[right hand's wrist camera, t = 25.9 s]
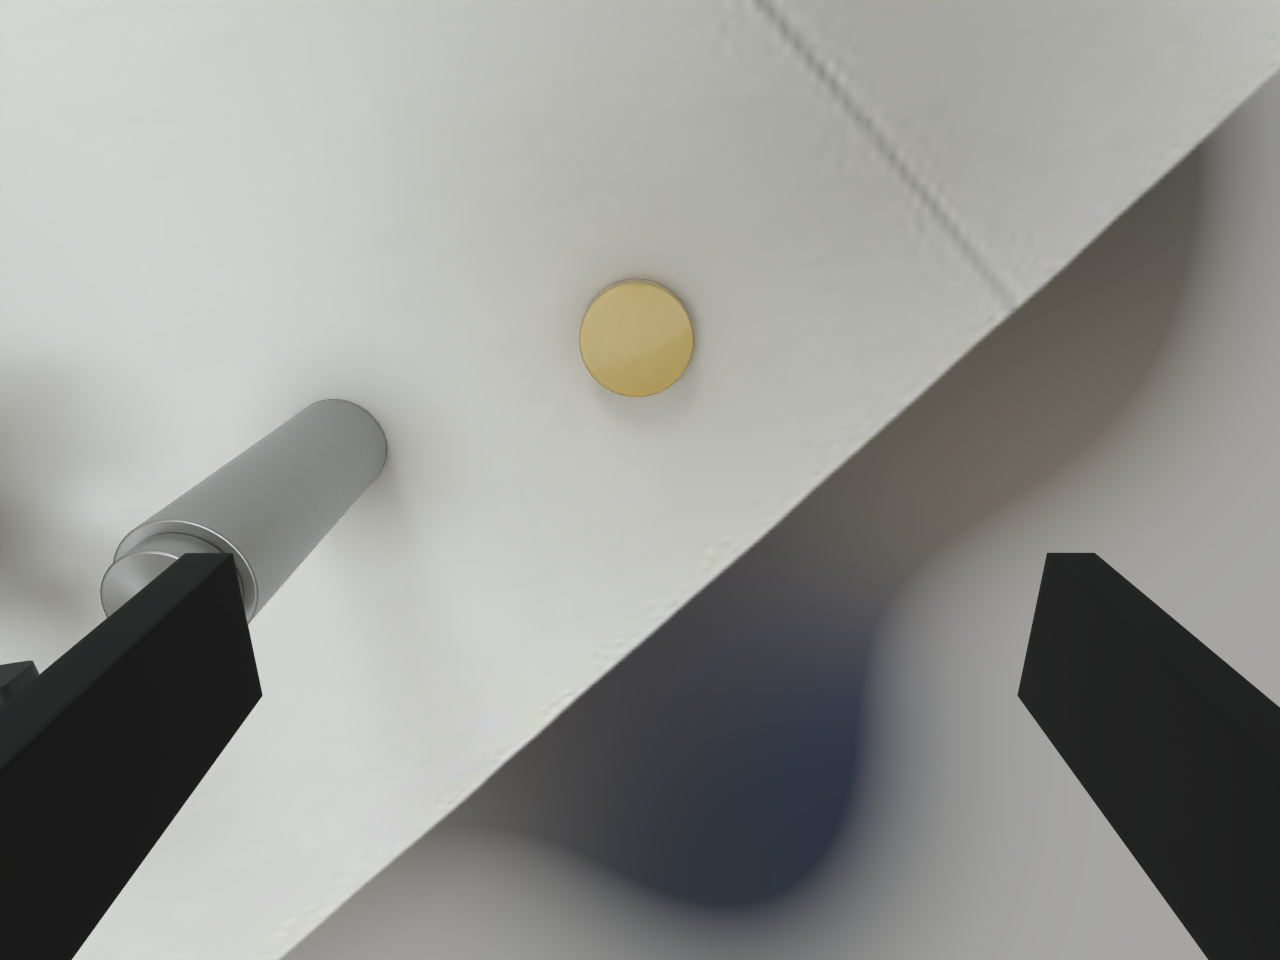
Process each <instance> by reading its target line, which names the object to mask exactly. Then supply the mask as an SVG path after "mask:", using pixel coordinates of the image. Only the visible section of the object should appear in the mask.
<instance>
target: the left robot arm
mask: <svg viewBox="0 0 1280 960" xmlns="http://www.w3.org/2000/svg"><path fill="white" fill-rule="evenodd" d="M39 675H40V674H39V672H38V670H37V668H36V666H35V664H34V662H33V661H24V662H17V663H11V664H4V665H0V707H2V706H3V705H4V704H5V703H6V702H8V701H9V700H10V699H11V698H12V697H14V696H15V695H16V694H17V693H18V692H20V691H21V690H22V689H23V688H24V687H26V686H27V685H28V684H29V683H30V682H31V681H33V680H34V679H35V678H36V677H37V676H39Z"/></svg>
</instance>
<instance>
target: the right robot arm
mask: <svg viewBox="0 0 1280 960" xmlns="http://www.w3.org/2000/svg"><path fill="white" fill-rule="evenodd" d="M261 697H262V691H261V686H260V681H259V677H258V672H257V667H256V662H255V657H254V652H253V648H252V643H251V638H250V633H249V628H248V624H247V619H246V614H245V609H244V604H243V600H242V595H241V590H240V585H239V580H238V575H237V571H236V566H235V561H234V556H233V553H185V554H183V555H182V556H181V557H180V558H179V559H177V560H176V561H175V562H174V563H173V564H172V565H170V566H169V567H168V568H167V569H166V570H164V571H163V572H162V573H161V574H160V575H158V576H157V577H156V578H155V579H154V580H152V581H151V582H150V583H149V584H148V585H146V586H145V587H144V588H143V589H142V590H140V591H139V592H138V593H137V594H136V595H134V596H133V597H132V598H131V599H130V600H128V601H127V602H126V603H125V604H124V605H122V606H121V607H120V608H119V609H118V610H116V611H115V612H114V613H113V614H112V615H110V616H109V617H108V618H107V619H106V620H104V621H103V622H102V623H101V624H100V625H99V626H97V627H96V628H95V629H94V630H93V631H91V632H90V633H89V634H88V635H87V636H85V637H84V638H83V639H82V640H81V641H79V642H78V643H77V644H76V645H75V646H73V647H72V648H71V649H70V650H69V651H67V652H66V653H65V654H64V655H63V656H61V657H60V658H59V659H58V660H57V661H55V662H54V663H53V664H52V665H51V666H49V667H48V668H47V669H46V670H45V671H43V672H42V673H41V674H40V675H39V676H37V677H36V678H35V679H34V680H33V681H31V682H30V683H29V684H28V685H27V686H26V687H24V688H23V689H22V690H21V691H20V692H18V693H17V694H16V695H15V696H14V697H12V698H11V699H10V700H9V701H8V702H6V703H5V704H4V705H3V706H2V707H0V960H72V958H73V957H74V956H75V954H76V953H77V951H78V950H79V949H80V947H81V946H82V945H83V943H84V942H85V940H86V939H87V938H88V936H89V935H90V933H91V932H92V931H93V929H94V928H95V927H96V925H97V924H98V922H99V921H100V920H101V918H102V917H103V915H104V914H105V913H106V911H107V910H108V909H109V907H110V906H111V904H112V903H113V902H114V900H115V899H116V897H117V896H118V895H119V893H120V892H121V891H122V889H123V888H124V886H125V885H126V884H127V882H128V881H129V879H130V878H131V877H132V875H133V874H134V873H135V871H136V870H137V868H138V867H139V866H140V864H141V863H142V861H143V860H144V859H145V857H146V856H147V855H148V853H149V852H150V850H151V849H152V848H153V846H154V845H155V843H156V842H157V841H158V839H159V838H160V837H161V835H162V834H163V832H164V831H165V830H166V828H167V827H168V826H169V824H170V823H171V821H172V820H173V819H174V817H175V816H176V814H177V813H178V812H179V810H180V809H181V808H182V806H183V805H184V803H185V802H186V801H187V799H188V798H189V796H190V795H191V794H192V792H193V791H194V790H195V788H196V787H197V785H198V784H199V783H200V781H201V780H202V778H203V777H204V776H205V774H206V773H207V772H208V770H209V769H210V767H211V766H212V765H213V763H214V762H215V760H216V759H217V758H218V756H219V755H220V754H221V752H222V751H223V749H224V748H225V747H226V745H227V744H228V742H229V741H230V740H231V738H232V737H233V736H234V734H235V733H236V731H237V730H238V729H239V727H240V726H241V724H242V723H243V722H244V720H245V719H246V718H247V716H248V715H249V713H250V712H251V711H252V709H253V708H254V706H255V705H256V704H257V702H258V701H259V700H260V698H261ZM1018 697H1019V698H1020V699H1021V701H1022V702H1023V704H1024V705H1025V706H1026V708H1027V709H1028V711H1029V712H1030V713H1031V715H1032V716H1033V718H1034V719H1035V720H1036V722H1037V723H1038V724H1039V726H1040V727H1041V729H1042V730H1043V731H1044V733H1045V734H1046V735H1047V737H1048V738H1049V740H1050V741H1051V742H1052V744H1053V745H1054V747H1055V748H1056V749H1057V751H1058V752H1059V754H1060V755H1061V756H1062V758H1063V759H1064V760H1065V762H1066V763H1067V765H1068V766H1069V767H1070V769H1071V770H1072V771H1073V773H1074V774H1075V776H1076V777H1077V778H1078V780H1079V781H1080V782H1081V784H1082V785H1083V787H1084V788H1085V789H1086V791H1087V792H1088V794H1089V795H1090V796H1091V798H1092V799H1093V801H1094V802H1095V803H1096V805H1097V806H1098V808H1099V809H1100V810H1101V812H1102V813H1103V814H1104V816H1105V817H1106V819H1107V820H1108V821H1109V823H1110V824H1111V826H1112V827H1113V828H1114V830H1115V831H1116V832H1117V834H1118V835H1119V837H1120V838H1121V839H1122V841H1123V842H1124V843H1125V845H1126V846H1127V848H1128V849H1129V850H1130V852H1131V853H1132V854H1133V856H1134V857H1135V859H1136V860H1137V861H1138V863H1139V864H1140V866H1141V867H1142V868H1143V870H1144V871H1145V873H1146V874H1147V875H1148V877H1149V878H1150V879H1151V881H1152V882H1153V884H1154V885H1155V886H1156V888H1157V889H1158V891H1159V892H1160V893H1161V895H1162V896H1163V897H1164V899H1165V900H1166V902H1167V903H1168V904H1169V906H1170V907H1171V909H1172V910H1173V911H1174V913H1175V914H1176V915H1177V917H1178V918H1179V920H1180V921H1181V922H1182V924H1183V925H1184V927H1185V928H1186V929H1187V931H1188V932H1189V933H1190V935H1191V936H1192V938H1193V939H1194V940H1195V942H1196V943H1197V944H1198V946H1199V947H1200V949H1201V950H1202V951H1203V953H1204V954H1205V956H1206V957H1207V958H1208V960H1280V707H1278V706H1277V705H1276V704H1275V703H1274V702H1272V701H1271V700H1270V699H1269V698H1268V697H1266V696H1265V695H1264V694H1263V693H1262V692H1260V691H1259V690H1258V689H1257V688H1256V687H1254V686H1253V685H1252V684H1251V683H1250V682H1248V681H1247V680H1246V679H1245V678H1244V677H1243V676H1241V675H1240V674H1239V673H1238V672H1237V671H1235V670H1234V669H1233V668H1232V667H1230V666H1229V665H1228V664H1227V663H1226V662H1225V661H1223V660H1222V659H1221V658H1220V657H1219V656H1217V655H1216V654H1215V653H1214V652H1213V651H1211V650H1210V649H1209V648H1208V647H1207V646H1205V645H1204V644H1203V643H1202V642H1201V641H1199V640H1198V639H1197V638H1196V637H1195V636H1193V635H1192V634H1191V633H1190V632H1189V631H1187V630H1186V629H1185V628H1184V627H1183V626H1181V625H1180V624H1179V623H1178V622H1177V621H1176V620H1174V619H1173V618H1172V617H1171V616H1170V615H1168V614H1167V613H1166V612H1165V611H1164V610H1162V609H1161V608H1160V607H1159V606H1158V605H1156V604H1155V603H1154V602H1153V601H1152V600H1150V599H1149V598H1148V597H1147V596H1146V595H1144V594H1143V593H1142V592H1141V591H1140V590H1138V589H1137V588H1136V587H1135V586H1134V585H1132V584H1131V583H1130V582H1129V581H1128V580H1126V579H1125V578H1124V577H1123V576H1122V575H1120V574H1119V573H1118V572H1117V571H1116V570H1114V569H1113V568H1112V567H1111V566H1110V565H1108V564H1107V563H1106V562H1105V561H1104V560H1103V559H1101V558H1100V557H1099V556H1098V555H1096V554H1095V553H1047V556H1046V561H1045V566H1044V571H1043V576H1042V580H1041V585H1040V590H1039V595H1038V600H1037V604H1036V609H1035V614H1034V619H1033V624H1032V628H1031V633H1030V638H1029V643H1028V648H1027V653H1026V657H1025V662H1024V667H1023V672H1022V677H1021V682H1020V686H1019V691H1018Z"/></svg>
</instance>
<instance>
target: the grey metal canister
mask: <svg viewBox="0 0 1280 960" xmlns="http://www.w3.org/2000/svg"><path fill="white" fill-rule="evenodd" d="M386 454H387V446H386V440H385V437H384V434H383V432H382V430H381V428H380V426H379V424H378V423H377V422H376V420H375V419H374V418H373V417H372V416H371V415H370V414H369V413H368V412H366V411H365V410H364V409H362V408H361V407H359V406H357V405H355V404H353V403H350V402H347V401H342V400H323V401H319V402H316V403H314V404H312V405H310V406H308V407H307V408H305V409H304V410H303V411H301V412H300V413H298V414H297V415H295V416H294V417H293V418H291V419H290V420H288V421H287V422H286V423H284V424H283V425H281V426H280V427H278V428H277V429H276V430H274V431H273V432H271V433H270V434H268V435H267V436H266V437H264V438H263V439H261V440H260V441H259V442H257V443H256V444H254V445H253V446H251V447H250V448H249V449H247V450H246V451H244V452H243V453H241V454H240V455H239V456H237V457H236V458H234V459H233V460H232V461H230V462H229V463H227V464H226V465H224V466H223V467H222V468H220V469H219V470H217V471H216V472H214V473H213V474H212V475H210V476H209V477H207V478H206V479H205V480H203V481H202V482H200V483H199V484H197V485H196V486H195V487H193V488H192V489H190V490H189V491H188V492H186V493H185V494H183V495H182V496H180V497H179V498H178V499H176V500H175V501H173V502H172V503H170V504H169V505H168V506H166V507H165V508H163V509H162V510H161V511H159V512H158V513H156V514H155V515H153V516H152V517H151V518H149V519H148V520H146V521H145V522H143V523H142V524H141V525H139V526H138V527H136V528H135V529H134V530H132V531H131V532H130V533H129V534H128V535H126V536H125V538H124V539H123V540H122V541H121V543H120V545H119V546H118V548H117V550H116V554H115V557H114V561H113V564H111V566H110V567H109V568H108V570H107V571H106V573H105V575H104V577H103V581H102V584H101V601H102V606H103V609H104V611H105V613H106V616H107V618H108V617H109V616H110V615H112V614H113V613H114V612H115V611H116V610H118V609H119V608H120V607H121V606H122V605H124V604H125V603H126V602H127V601H128V600H130V599H131V598H132V597H133V596H134V595H136V594H137V593H138V592H139V591H140V590H142V589H143V588H144V587H145V586H146V585H148V584H149V583H150V582H151V581H152V580H154V579H155V578H156V577H157V576H158V575H160V574H161V573H162V572H163V571H164V570H166V569H167V568H168V567H169V566H170V565H172V564H173V563H174V562H175V561H176V560H177V559H179V558H180V557H181V556H182V555H183V554H185V553H233V556H234V561H235V566H236V571H237V575H238V580H239V585H240V590H241V595H242V600H243V604H244V609H245V614H246V619H247V624H249V623H250V622H251V621H252V619H253V618H254V617H255V616H256V615H257V614H258V612H259V611H260V610H261V609H262V608H263V607H264V606H265V604H266V603H267V602H268V601H269V600H270V599H271V597H272V596H273V595H274V594H275V593H276V592H277V591H278V589H279V588H280V587H281V586H282V585H283V584H284V583H285V581H286V580H287V579H288V578H289V577H290V576H291V574H292V573H293V572H294V571H295V570H296V569H297V568H298V566H299V565H300V564H301V563H302V562H303V561H304V559H305V558H306V557H307V556H308V555H309V554H310V553H311V551H312V550H313V549H314V548H315V547H316V546H317V545H318V543H319V542H320V541H321V540H322V539H323V538H324V536H325V535H326V534H327V533H328V532H329V531H330V530H331V528H332V527H333V526H334V525H335V524H336V523H337V521H338V520H339V519H340V518H341V517H342V516H343V515H344V513H345V512H346V511H347V510H348V509H349V508H350V506H351V505H352V504H353V503H354V502H355V501H356V500H357V498H358V497H359V496H360V495H361V494H362V493H363V492H364V490H365V489H366V488H367V487H368V486H369V485H370V483H371V482H372V481H373V480H374V479H375V478H376V477H377V475H378V474H379V473H380V471H381V470H382V468H383V466H384V464H385V460H386Z"/></svg>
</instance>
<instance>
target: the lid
mask: <svg viewBox="0 0 1280 960" xmlns="http://www.w3.org/2000/svg"><path fill="white" fill-rule="evenodd" d="M579 343H580V351H581V355H582V358H583V361H584V363H585V365H586V368H587V369H588V371H589V372H590V374H591V375H592V376H593V377H594V378H595V380H597V381H598V382H599V383H600V384H601V385H602V386H604V387H605V388H607V389H609V390H611V391H612V392H615V393H618V394H620V395H625V396H632V397H642V396H649V395H652V394H656V393H658V392H660V391H663V390H664V389H666V388H668V387H669V386H670V385H672V384H673V383H674V382H675V381H676V380H677V379H678V378H679V377H680V376H681V375H682V373H683V372H684V371H685V369H686V367H687V365H688V363H689V361H690V358H691V354H692V350H693V330H692V326H691V322H690V319H689V316H688V314H687V311H686V309H685V307H684V306H683V304H682V302H681V301H680V300H679V299H678V297H677V296H676V295H675V294H674V293H673V292H671V291H670V290H669V289H667V288H666V287H664V286H662V285H660V284H658V283H656V282H653V281H649V280H644V279H629V280H623V281H620V282H617V283H615V284H613V285H610V286H609V287H607V288H606V289H604V290H603V291H602V292H600V293H599V294H598V295H597V296H596V297H595V298H594V300H593V301H592V302H591V304H590V305H589V307H588V309H587V311H586V313H585V316H584V319H583V321H582V324H581V329H580V336H579Z"/></svg>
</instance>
